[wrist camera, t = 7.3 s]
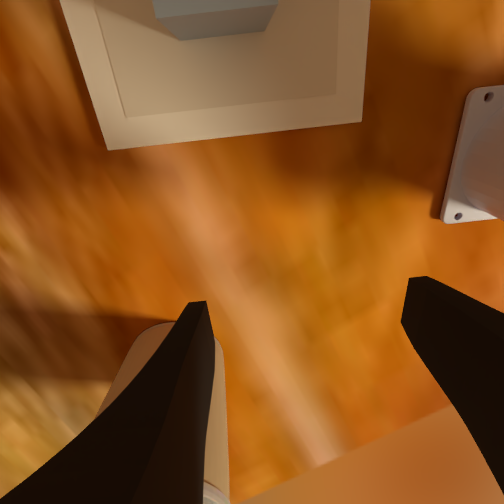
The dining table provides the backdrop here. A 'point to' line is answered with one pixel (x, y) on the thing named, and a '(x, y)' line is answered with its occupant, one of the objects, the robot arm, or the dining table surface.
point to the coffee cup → (217, 423)
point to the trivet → (219, 71)
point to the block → (213, 17)
